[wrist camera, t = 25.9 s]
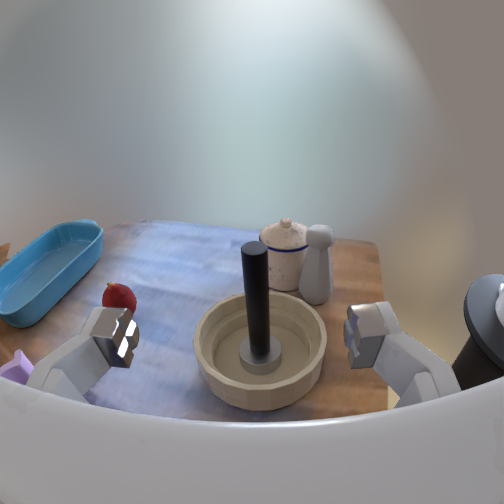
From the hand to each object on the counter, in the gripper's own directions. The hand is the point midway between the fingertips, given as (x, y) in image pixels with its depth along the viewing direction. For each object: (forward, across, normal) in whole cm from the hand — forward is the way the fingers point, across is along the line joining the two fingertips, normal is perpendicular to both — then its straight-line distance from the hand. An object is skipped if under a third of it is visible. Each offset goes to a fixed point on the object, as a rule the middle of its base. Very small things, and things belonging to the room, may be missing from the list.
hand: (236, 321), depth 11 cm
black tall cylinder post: (+17, 0, +25) cm, 30 cm away
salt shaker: (+30, -9, +26) cm, 41 cm away
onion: (+25, +23, +26) cm, 43 cm away
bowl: (+17, 0, +26) cm, 31 cm away
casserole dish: (+34, +48, +26) cm, 64 cm away
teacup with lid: (+36, -3, +26) cm, 45 cm away
